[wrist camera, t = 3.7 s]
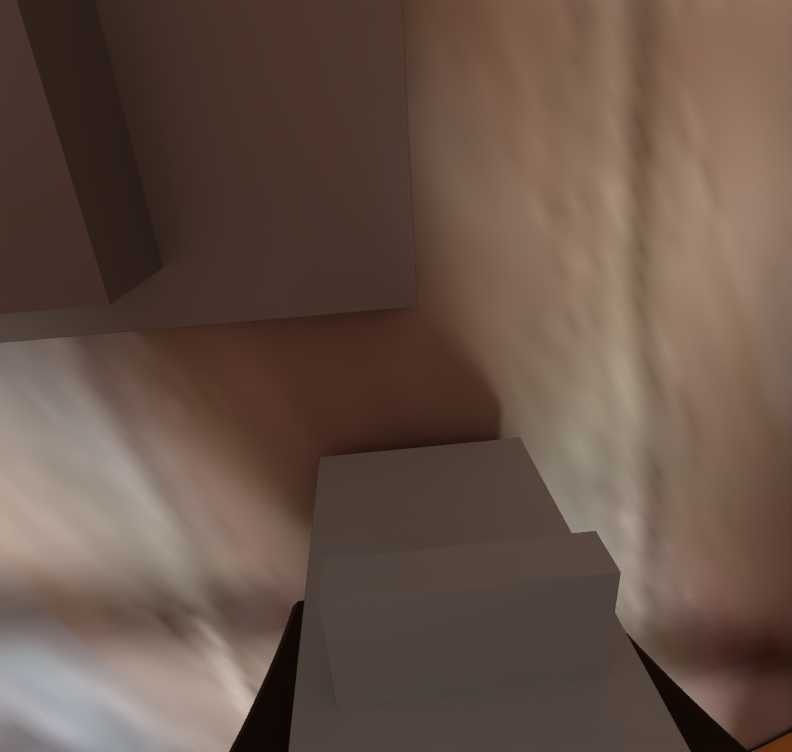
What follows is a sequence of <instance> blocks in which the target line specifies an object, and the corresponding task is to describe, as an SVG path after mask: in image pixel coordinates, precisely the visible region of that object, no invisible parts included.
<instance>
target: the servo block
mask: <svg viewBox="0 0 792 752" xmlns="http://www.w3.org/2000/svg"><path fill="white" fill-rule="evenodd" d="M620 573H621V572H620V570H619V569H618V567H617V565H616V564H615V562H614V560H613V559H612V557H611V556H610V554H609V552H608V551H607V549H606V547H605V546H604V544H603V542H602V541H601V539H600V537H599V536H598V534H597V532H596V531H592V532H582V533H571V531H570V529H569V527H568V526H567V524H566V522H565V520H564V518H563V516H562V515H561V513H560V511H559V509H558V507H557V505H556V504H555V502H554V500H553V498H552V496H551V494H550V493H549V491H548V489H547V487H546V485H545V483H544V482H543V480H542V478H541V476H540V474H539V472H538V470H537V469H536V467H535V465H534V463H533V461H532V459H531V458H530V456H529V454H528V452H527V450H526V448H525V447H524V445H523V443H522V441H521V439H520V438H512V439H501V440H491V441H481V442H470V443H460V444H450V445H439V446H429V447H419V448H408V449H398V450H388V451H377V452H367V453H357V454H347V455H336V456H326V457H320V459H319V468H318V478H317V487H316V497H315V506H314V516H313V525H312V534H311V544H310V553H309V563H308V572H307V581H306V591H305V600H304V610H303V619H302V629H301V638H300V647H299V657H298V666H297V676H296V685H295V694H294V704H293V713H292V723H291V732H290V741H289V751H288V752H691V751H690V750H689V748H688V746H687V744H686V742H685V740H684V739H683V737H682V735H681V733H680V731H679V729H678V728H677V726H676V724H675V722H674V720H673V718H672V716H671V715H670V713H669V711H668V709H667V707H666V705H665V704H664V702H663V700H662V698H661V696H660V694H659V693H658V691H657V689H656V687H655V685H654V683H653V682H652V680H651V678H650V676H649V674H648V672H647V671H646V669H645V667H644V665H643V663H642V661H641V660H640V658H639V656H638V654H637V652H636V650H635V649H634V647H633V645H632V643H631V641H630V639H629V638H628V636H627V634H626V632H625V630H624V628H623V627H622V625H621V623H620V621H619V619H618V617H617V616H616V614H615V607H616V600H617V593H618V586H619V580H620Z"/></svg>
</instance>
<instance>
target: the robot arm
mask: <svg viewBox="0 0 792 752" xmlns="http://www.w3.org/2000/svg"><path fill="white" fill-rule="evenodd" d="M303 610H304V601H298V602H297V603H296V604H295V605H294V606H293V608H292V611H291V614H290V617H289V620H288V623H287V625H286V628H285V631H284V634H283V636H282V639H281V641H280V644H279V646H278V649H277V651H276V654H275V656H274V658H273V661H272V663H271V666H270V668H269V670H268V673H267V675H266V677H265V679H264V681H263V684H262V686H261V688H260V690H259V692H258V694H257V697H256V699H255V701H254V703H253V705H252V707H251V709H250V712H249V714H248V716H247V718H246V720H245V722H244V724H243V726H242V728H241V730H240V732H239V734H238V736H237V738H236V740H235V742H234V743H233V745H232V747H231V749H230V751H229V752H288V751H289V741H290V732H291V723H292V713H293V704H294V694H295V685H296V676H297V666H298V657H299V647H300V638H301V629H302V619H303ZM626 634H627V633H626ZM627 636H628V638H629V639H630V641H631V643H632V645H633V647H634V649H635V650H636V652H637V654H638V656H639V658H640V660H641V661H642V663H643V665H644V667H645V669H646V671H647V672H648V674H649V676H650V678H651V680H652V682H653V683H654V685H655V687H656V689H657V691H658V693H659V694H660V696H661V698H662V700H663V702H664V704H665V705H666V707H667V709H668V711H669V713H670V715H671V716H672V718H673V720H674V722H675V724H676V726H677V728H678V729H679V731H680V733H681V735H682V737H683V739H684V740H685V742H686V744H687V746H688V748H689V750H690V751H691V752H749V751H748V750H747V749H745V748H744V747H743V746H742V745H741V744H740V743H739V742H737V741H736V740H735V739H734V738H733V737H732V736H731V735H730V734H729V733H728V732H726V731H725V730H724V729H723V728H722V727H721V726H720V725H719V724H718V723H717V722H716V721H714V720H713V719H712V718H711V717H710V716H709V715H708V714H707V713H706V712H705V711H704V710H703V709H702V708H701V707H700V706H698V705H697V704H696V703H695V702H694V701H693V700H692V699H691V698H690V697H689V696H688V695H687V694H686V693H685V692H684V691H683V690H682V689H681V688H680V687H679V686H678V685H677V684H676V683H675V682H674V681H673V680H672V679H671V678H670V677H669V676H668V675H667V674H666V673H665V672H664V671H663V670H662V669H661V668H660V667H659V666H658V665H657V664H656V663H655V662H654V661H653V660H652V659H651V658H650V657H649V656H648V655H647V654H646V653H645V652H644V651H643V650H642V649H641V648H640V647H639V646H638V645H637V643H636V642H635V641H634V640H633V639H632V638H631V637H630V636H629V635H628V634H627Z"/></svg>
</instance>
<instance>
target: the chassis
mask: <svg viewBox="0 0 792 752" xmlns="http://www.w3.org/2000/svg"><path fill="white" fill-rule="evenodd" d="M407 307H417V288H416V269H415V249H414V230H413V211H412V192H411V173H410V154H409V135H408V116H407V97H406V77H405V58H404V39H403V20H402V1H401V0H0V343H1V342H13V341H24V340H36V339H47V338H59V337H71V336H82V335H94V334H105V333H117V332H129V331H140V330H152V329H164V328H175V327H187V326H198V325H210V324H222V323H233V322H245V321H256V320H268V319H280V318H291V317H303V316H314V315H326V314H338V313H349V312H361V311H372V310H384V309H396V308H407Z"/></svg>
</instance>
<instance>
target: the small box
mask: <svg viewBox="0 0 792 752" xmlns="http://www.w3.org/2000/svg"><path fill="white" fill-rule="evenodd" d="M751 752H792V732H791V733H789V734H787V735H785V736H782V737H780V738H778V739H776V740H774V741H772V742H770V743H768V744H766V745H764V746H762V747H760V748H758V749H756V750H754V751H751Z"/></svg>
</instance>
